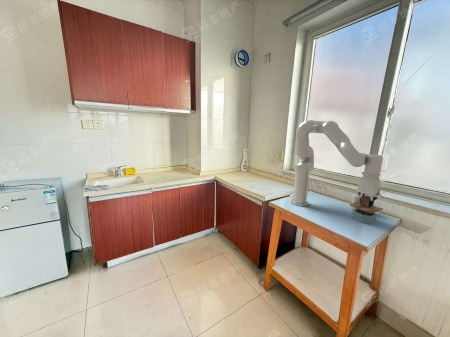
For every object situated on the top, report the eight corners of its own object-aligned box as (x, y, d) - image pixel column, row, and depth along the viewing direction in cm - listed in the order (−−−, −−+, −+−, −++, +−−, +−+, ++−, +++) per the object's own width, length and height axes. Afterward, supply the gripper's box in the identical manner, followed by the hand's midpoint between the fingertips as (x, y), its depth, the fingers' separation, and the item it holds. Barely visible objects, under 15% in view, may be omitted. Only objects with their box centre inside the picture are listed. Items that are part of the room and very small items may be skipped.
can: (348, 209, 131) (351, 192, 129) (354, 207, 135) (357, 191, 132) (360, 213, 125) (363, 196, 122) (366, 211, 128) (369, 194, 126)
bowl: (348, 217, 119) (349, 209, 118) (359, 214, 124) (360, 207, 123) (367, 225, 110) (368, 217, 109) (378, 221, 114) (379, 214, 113)
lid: (349, 205, 118) (351, 195, 116) (361, 202, 123) (363, 192, 121) (370, 213, 107) (372, 202, 106) (382, 209, 112) (384, 199, 111)
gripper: (352, 173, 117) (348, 201, 121) (384, 179, 102) (378, 211, 106) (360, 172, 120) (355, 199, 124) (392, 178, 105) (385, 209, 109)
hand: (366, 204), depth 115 cm, fingers closed on lid, 4 cm apart
